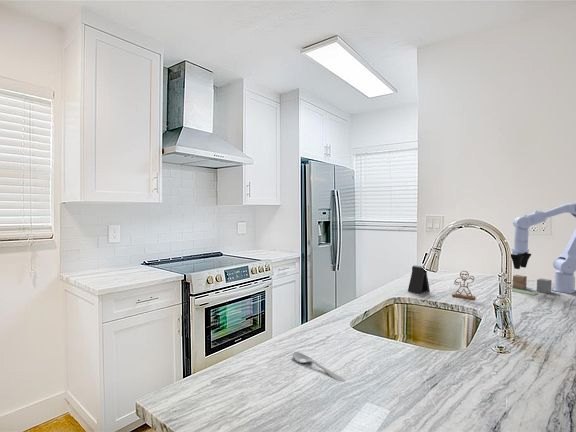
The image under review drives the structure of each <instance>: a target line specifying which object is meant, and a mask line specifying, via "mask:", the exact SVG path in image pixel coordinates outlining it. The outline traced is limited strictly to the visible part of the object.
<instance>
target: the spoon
mask: <svg viewBox="0 0 576 432" xmlns="http://www.w3.org/2000/svg"><path fill="white" fill-rule="evenodd" d="M292 357H293V359H294V360H295V361H296V363H297V362H298V363H301V364H306V363H307V364H308V363H312V364H314V365H315V366H317V367H319V369H320V368H321V369H322V370H323V371H324V372H325V373H326V374H328V375H329V376H330V377H331V378H333V379H334V380H336V381H337V382H342V383H346V380H345V378H343V377H342V376H340V375H339V374H337V373H335V372H334V371H332V370H330V369H328V368H327V367H325V366H323V365H321V364H320V363H318V361H315V360H314V359H313V358H312V357H309V356H308V355H305V354H304V353H301V352H298V351H294V352H293V354H292ZM301 360H304V361H301Z"/></svg>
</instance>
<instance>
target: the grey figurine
mask: <svg viewBox="0 0 576 432" xmlns="http://www.w3.org/2000/svg"><path fill="white" fill-rule="evenodd" d="M459 279H461V281H459V282H458V281H457V280H459ZM467 280H472V281H471V282H467ZM474 280H475V276H474V275H470V274H469V272H468V271H466V270H461V272H460V273H459V277H458V278H456V279H455V280H454V283H453V284H454V285H455V286H458V285H459V287H458V289H457V290H456V292H454V293H453V294H452V296H451V297H452V298H459V299H465V300H471V301H475V300H476V295H473V294H472V292H471V290H470V289H469V284H472V283H473V282H474ZM462 282H463V284H462ZM465 283H466V284H465ZM461 288H463V289H462V291H459V290H460V289H461ZM465 288H466V289H467V291H468V292H467V291H466V290H465ZM463 291H464V293H465V294H464V293H463Z"/></svg>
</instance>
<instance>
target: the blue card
mask: <svg viewBox="0 0 576 432" xmlns="http://www.w3.org/2000/svg"><path fill="white" fill-rule="evenodd" d="M511 286H512V288H513V284H512V285H511ZM513 289H517V288H513ZM533 289H534V288H532V287H527V286H526V289H519V290H524V291H530V290H533Z"/></svg>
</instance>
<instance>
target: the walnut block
mask: <svg viewBox="0 0 576 432" xmlns="http://www.w3.org/2000/svg"><path fill="white" fill-rule="evenodd" d="M527 280H528V277H527V276H526V275H520V274H515V275H512V285H513V288H517V289H526V287H527V284H528V283H527Z"/></svg>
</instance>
